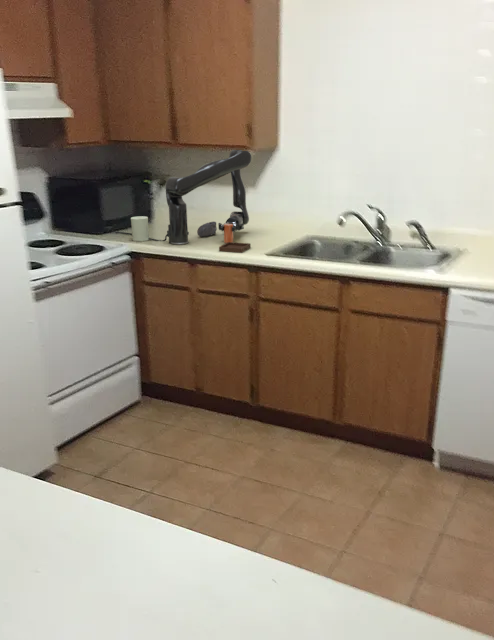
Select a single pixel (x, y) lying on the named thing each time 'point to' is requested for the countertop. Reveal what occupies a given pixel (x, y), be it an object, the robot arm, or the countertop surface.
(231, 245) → the stand
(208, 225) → the perforated stone tool
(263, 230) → the countertop surface
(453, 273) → the countertop surface
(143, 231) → the can
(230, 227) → the orange block
